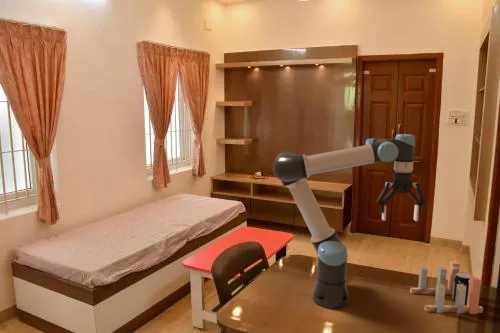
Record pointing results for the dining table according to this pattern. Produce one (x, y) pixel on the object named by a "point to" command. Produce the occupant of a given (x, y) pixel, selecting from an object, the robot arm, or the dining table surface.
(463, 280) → the beverage can
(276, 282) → the dining table surface
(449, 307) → the oak channel
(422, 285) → the steel collars
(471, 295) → the terracotta aperture
